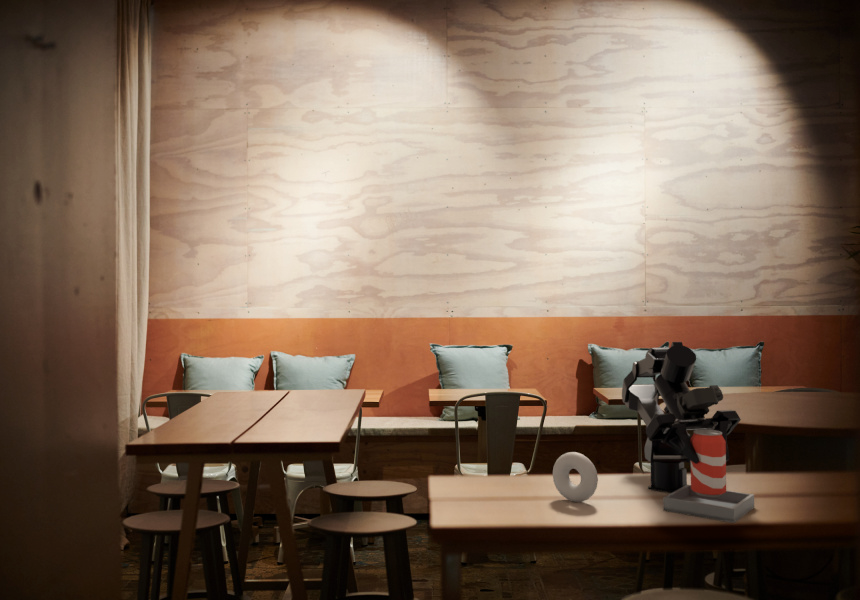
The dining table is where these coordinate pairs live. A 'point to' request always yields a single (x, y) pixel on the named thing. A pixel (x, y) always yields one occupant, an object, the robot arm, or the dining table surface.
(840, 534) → the dining table surface
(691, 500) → the tray
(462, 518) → the dining table surface
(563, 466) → the donut
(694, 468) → the beverage can
